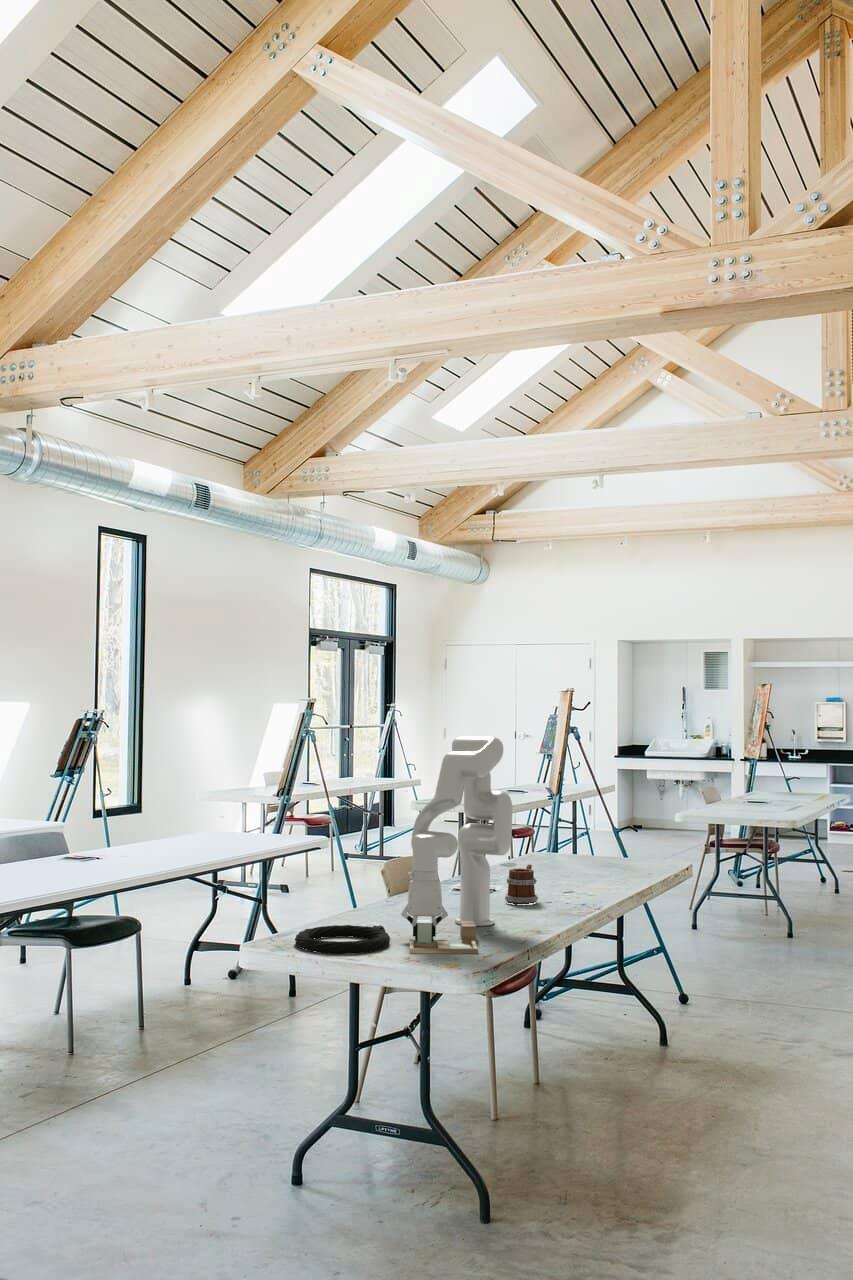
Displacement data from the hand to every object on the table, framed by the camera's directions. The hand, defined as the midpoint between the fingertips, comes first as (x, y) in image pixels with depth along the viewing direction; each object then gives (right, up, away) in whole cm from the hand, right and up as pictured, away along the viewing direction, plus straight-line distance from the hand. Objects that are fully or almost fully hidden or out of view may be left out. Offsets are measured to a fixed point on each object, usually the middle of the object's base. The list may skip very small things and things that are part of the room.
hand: (424, 938), depth 328 cm
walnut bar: (+13, -1, 0) cm, 13 cm away
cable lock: (-23, 0, -8) cm, 24 cm away
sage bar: (0, 0, 0) cm, 0 cm away
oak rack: (+5, 0, -12) cm, 13 cm away
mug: (+35, -6, +68) cm, 77 cm away
